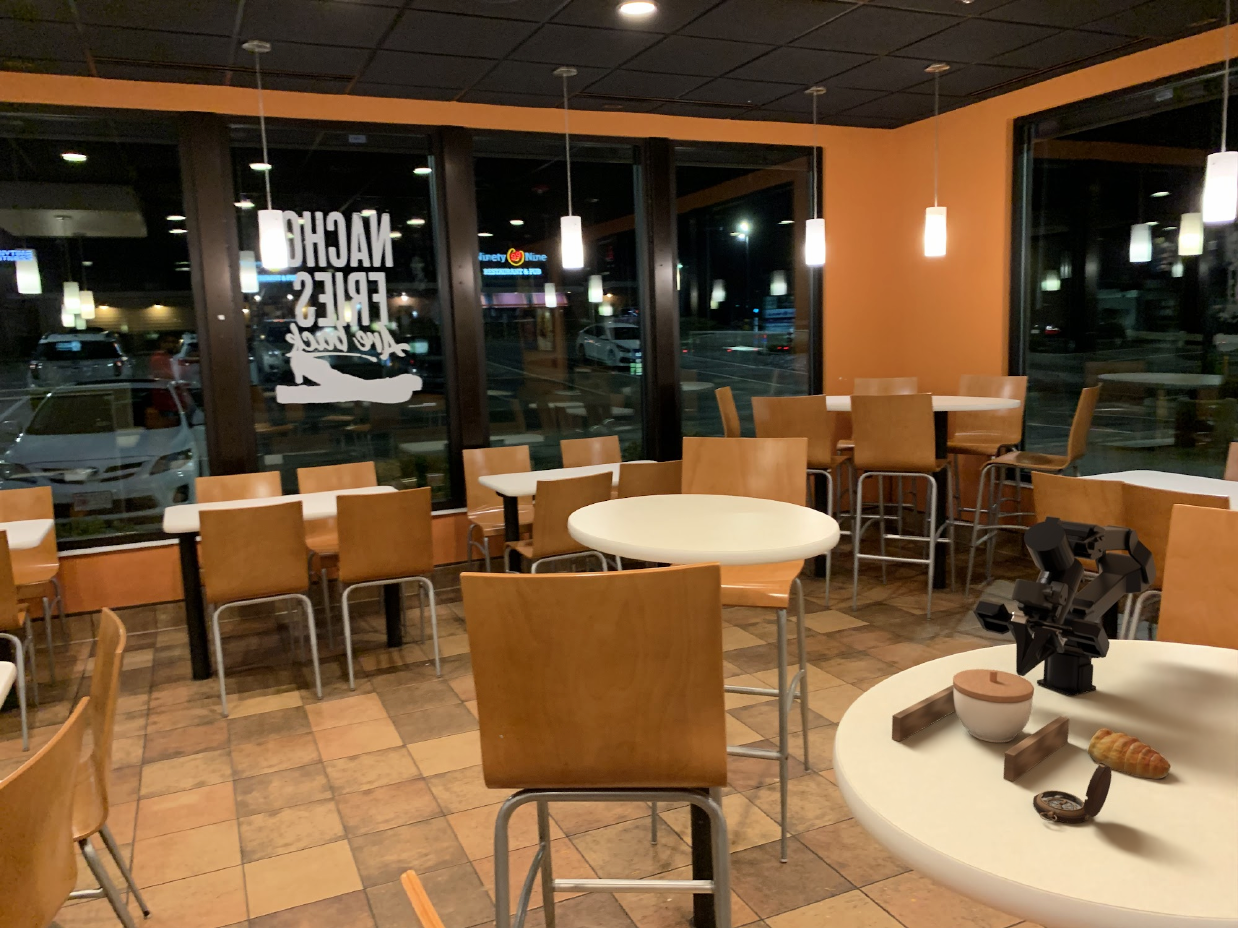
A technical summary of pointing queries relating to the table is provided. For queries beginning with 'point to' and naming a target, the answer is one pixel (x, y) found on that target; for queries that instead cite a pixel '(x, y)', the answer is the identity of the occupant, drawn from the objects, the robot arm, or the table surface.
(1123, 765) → the pastry
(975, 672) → the lidded jar
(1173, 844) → the table surface
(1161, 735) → the table surface
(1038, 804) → the compass
